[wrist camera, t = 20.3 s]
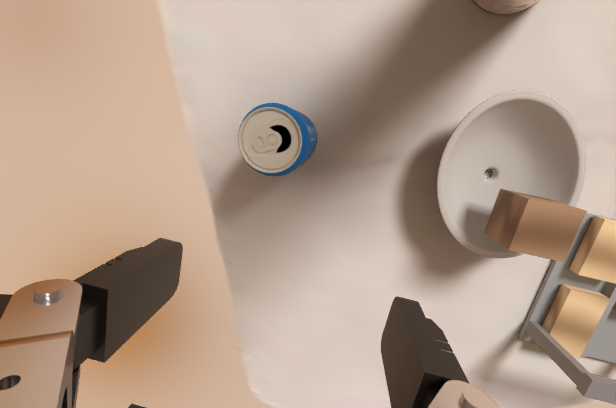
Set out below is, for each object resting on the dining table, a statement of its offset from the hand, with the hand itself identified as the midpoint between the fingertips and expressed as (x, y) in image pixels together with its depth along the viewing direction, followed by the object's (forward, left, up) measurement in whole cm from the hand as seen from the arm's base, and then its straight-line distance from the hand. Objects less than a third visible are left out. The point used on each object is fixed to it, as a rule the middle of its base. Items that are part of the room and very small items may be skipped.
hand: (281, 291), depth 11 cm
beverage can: (-4, -5, -28) cm, 29 cm away
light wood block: (0, +34, -28) cm, 44 cm away
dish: (-5, +19, -28) cm, 35 cm away
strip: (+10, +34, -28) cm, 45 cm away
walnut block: (-1, +21, -23) cm, 31 cm away
